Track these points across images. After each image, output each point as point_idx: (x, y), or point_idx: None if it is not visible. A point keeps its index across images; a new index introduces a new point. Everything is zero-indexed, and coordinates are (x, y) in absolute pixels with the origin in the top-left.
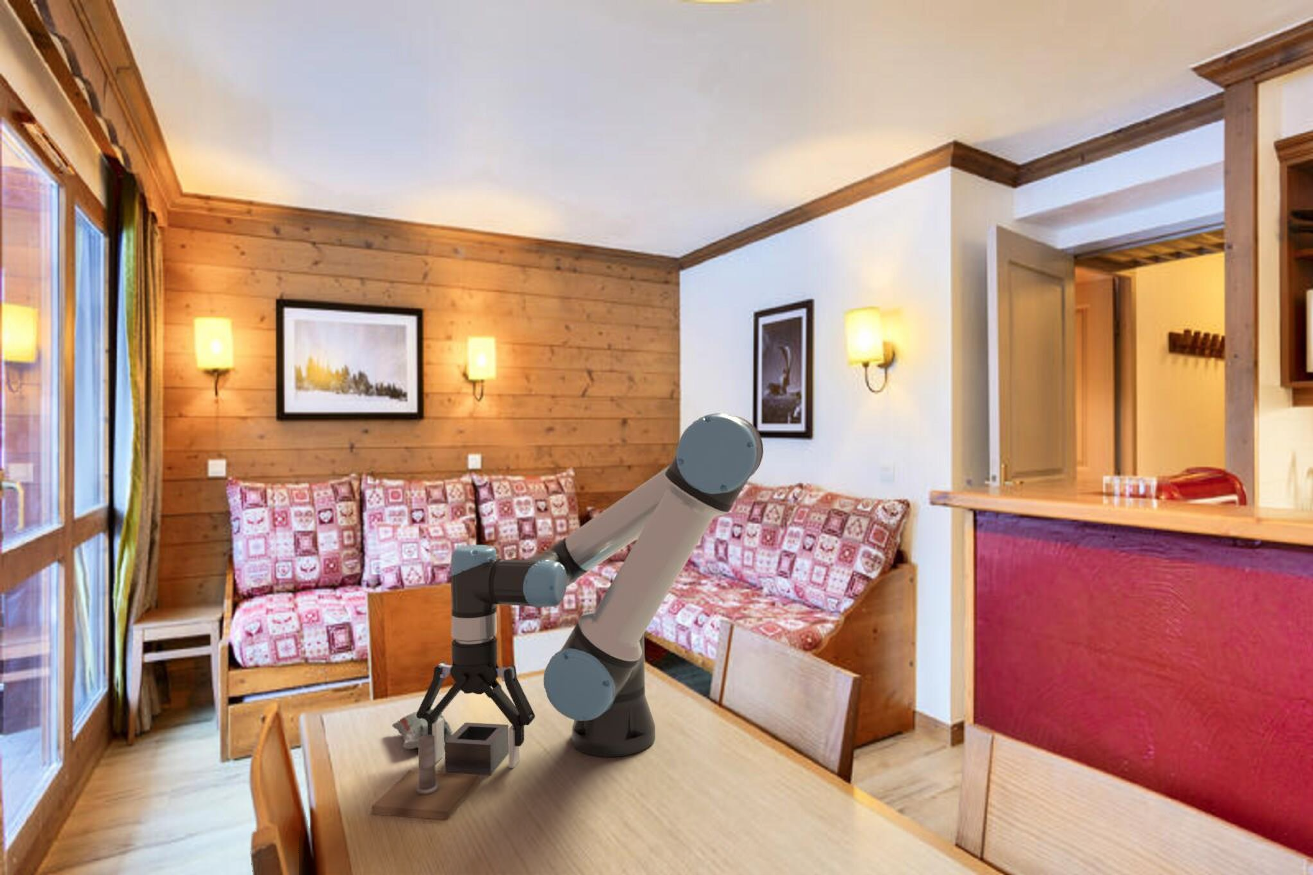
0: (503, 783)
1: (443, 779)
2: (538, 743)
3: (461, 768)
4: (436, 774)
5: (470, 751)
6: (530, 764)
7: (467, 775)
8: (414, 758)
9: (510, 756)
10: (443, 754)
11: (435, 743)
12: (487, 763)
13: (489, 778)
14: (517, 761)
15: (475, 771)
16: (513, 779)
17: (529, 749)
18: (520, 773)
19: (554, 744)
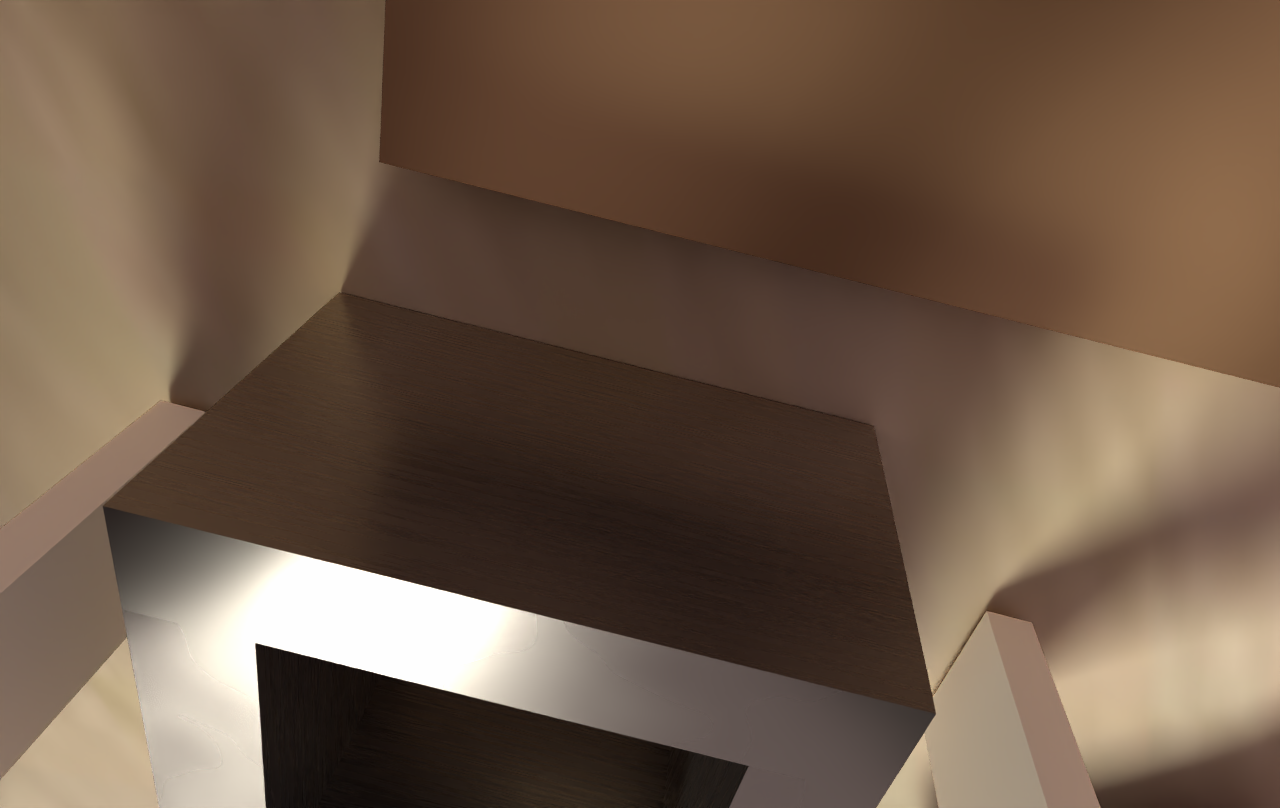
0: (115, 79)
1: (859, 73)
2: None
3: (676, 407)
4: (979, 245)
5: (504, 511)
6: (49, 450)
7: (529, 163)
8: (1219, 722)
9: (114, 478)
10: None
11: (1058, 797)
12: (315, 362)
13: (329, 223)
14: None
15: (510, 352)
16: (51, 166)
17: None
18: (48, 292)
19: None
